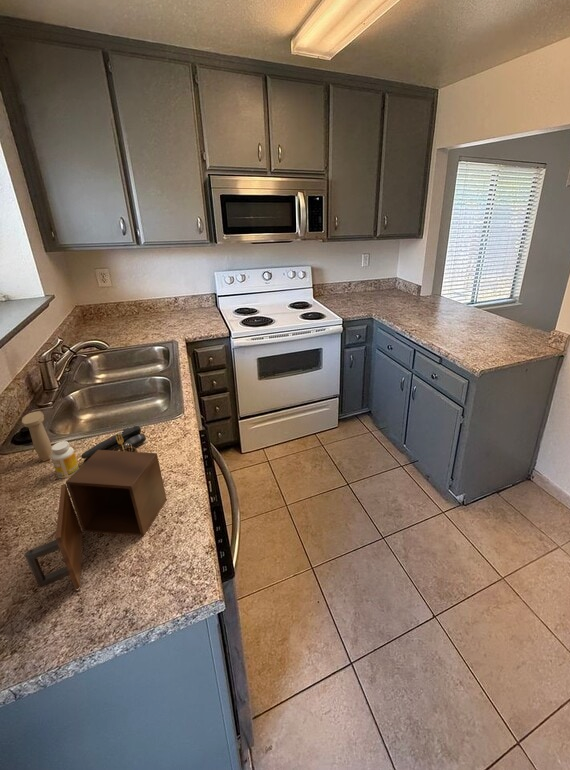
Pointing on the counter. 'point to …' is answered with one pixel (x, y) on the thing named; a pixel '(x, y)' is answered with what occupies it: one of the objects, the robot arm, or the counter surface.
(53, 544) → the cupboard door
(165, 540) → the counter surface
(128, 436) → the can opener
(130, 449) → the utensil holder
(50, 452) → the handle
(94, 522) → the cupboard
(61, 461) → the supplement bottle
